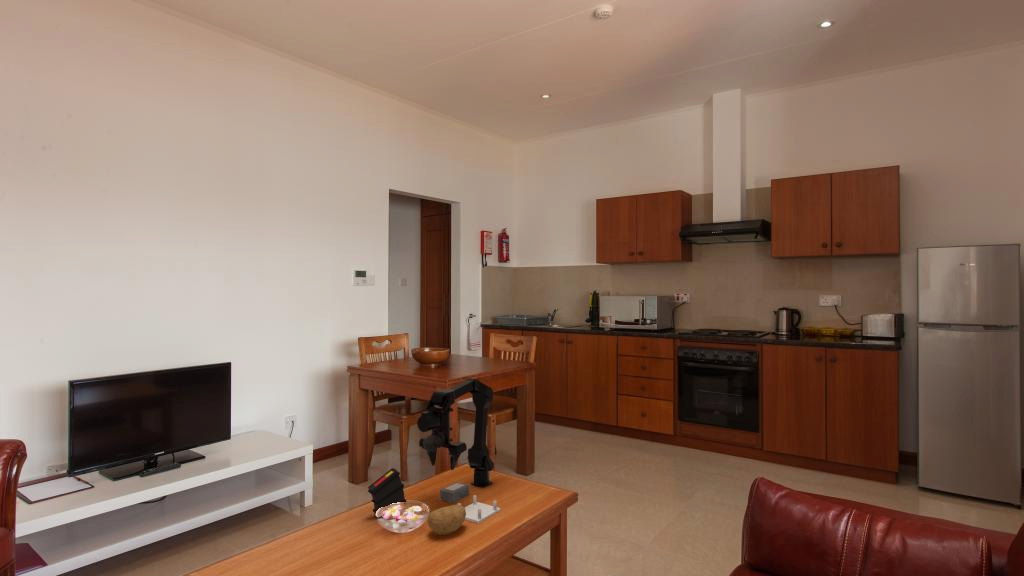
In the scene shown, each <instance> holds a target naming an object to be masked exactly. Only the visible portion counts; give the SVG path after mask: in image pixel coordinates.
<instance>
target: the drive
mask: <svg viewBox="0 0 1024 576" xmlns="http://www.w3.org/2000/svg"><path fill="white" fill-rule="evenodd" d="M469 495H470V484H467V483H462V482H458V481H456V482H454V483H452V484H450V485H447V486H445V487H443V488H442V489H439V500H440V499H441V500H440V501H442V500H445V501H444V502H446V501H448V502H447V503H449V502H451V504H454V503H456V502H458V501H460V500H463V499H465V498H466V497H469Z"/></svg>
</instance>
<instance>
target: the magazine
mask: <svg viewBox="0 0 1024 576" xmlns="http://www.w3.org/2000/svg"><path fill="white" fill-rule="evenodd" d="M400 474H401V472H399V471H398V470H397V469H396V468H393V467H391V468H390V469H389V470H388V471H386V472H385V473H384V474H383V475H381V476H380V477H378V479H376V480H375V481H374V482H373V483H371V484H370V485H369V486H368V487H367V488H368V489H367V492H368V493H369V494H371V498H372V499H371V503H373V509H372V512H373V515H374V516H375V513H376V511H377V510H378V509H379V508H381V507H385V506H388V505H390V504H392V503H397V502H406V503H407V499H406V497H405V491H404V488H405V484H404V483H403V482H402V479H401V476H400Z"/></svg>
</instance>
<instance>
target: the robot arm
mask: <svg viewBox="0 0 1024 576" xmlns="http://www.w3.org/2000/svg"><path fill="white" fill-rule="evenodd" d="M468 393H469V394H470V395H471V397H472V403H473V405H474V407H475V411H474V412H475V414H474V415H475V417H474V430H473V431H474V432H473V444H472V445H471V447H469V448H468V450H467V447H468V446H467V443H465V442H463V441H459V440H457V441H455V442H453V438H451V431H453V427H452V426H451V414H450V413H452V412H454V408H452V406H453V405H454V404H455V403H456V400H458V399H459V398H461V397H462V396H465V395H466V394H468ZM493 398H494V389H493V388H492V387H491V386H489V385H487V384H485V383H483V382H481V381H480V380H479V379H477V378H472V377H469V378H466V379H465V380H464V381H461V382H460V383H458V384H455V385H454V386H452V387H450V388H444V389H439V390H435V391H434V392H433V393H432V395H431V397H430V399H429V402H428V404H427V406H426V408H425V411H422V412H421V415H420V416H419V417H418V419H417V421H416V424H417V425H416V426H417V428H418V430H419V431H420V432H422V433H426V432H429V431H431V434H430V435H427V436H423V437H421V438H420V440H419V441H418V447H420V448H421V450H424V451H425V452H426V453H427V455H428V458H429V461H430V464H431V466H435V465H436V462H437V454H438V453H437V452H438V449H440V448H445V449H447V450H448V452H449V453H447V454H448V456H449V459H450V460H449V461H450V462H449V464H450V470H451V471H454V470H455V467H456V465H457V462H458V460H459V459H460V456H461V455H462V453H464V452H466V451H467V457H466V459H467V461H468V464H469V468H470V469H474V470H473V481H472V482H470V485H473V486H475V487H476V486H477V487H480V488H485V487H487V486H489V485H491V484H493V481H491V480H490V472H491V471H492V470H493V469H494V467H495V463H494V462H493V460H492V459H491V458H490V450H489V448H488V446H487V431H488V428H487V427H488V415H489V413H488V412H489V408H490V406H491V404H492V403H493ZM451 442H452V443H451Z"/></svg>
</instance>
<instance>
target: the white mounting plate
mask: <svg viewBox="0 0 1024 576" xmlns="http://www.w3.org/2000/svg"><path fill="white" fill-rule="evenodd" d="M492 503H493V504H492V505H490V504H486V503H483V502H479V501H477V495H476V494H474V495H472V503H471V504H469V505H466V506H464V508H465V511H466V517H465V520H464V521H469V522H471V523H476V524H480V523H482V522H484V521H485V520H487V519H489V518H490V517H492V516H494V515H495V514H497V513H498V512H501V508H500V507H498V506H497V500H495V499H494V500H492ZM456 505H461V506H462V503H460V502H458V503H457V504H456Z"/></svg>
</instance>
